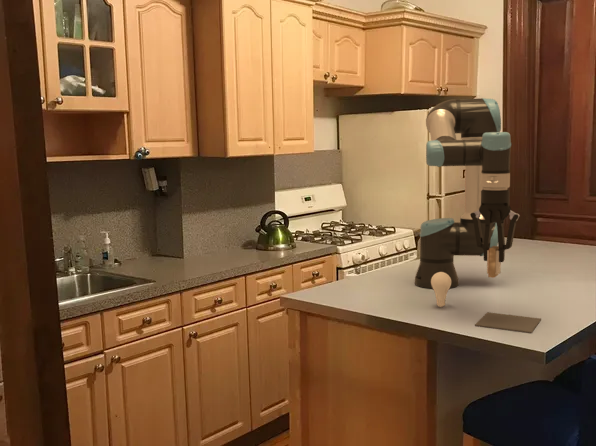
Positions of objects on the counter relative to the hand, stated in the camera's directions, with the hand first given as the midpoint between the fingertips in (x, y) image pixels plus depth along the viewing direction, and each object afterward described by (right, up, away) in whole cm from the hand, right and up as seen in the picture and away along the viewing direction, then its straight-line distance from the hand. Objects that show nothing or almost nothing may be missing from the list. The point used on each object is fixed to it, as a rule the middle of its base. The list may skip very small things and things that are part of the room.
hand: (493, 272), depth 178 cm
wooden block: (0, -1, 0) cm, 1 cm away
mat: (+4, -14, +1) cm, 15 cm away
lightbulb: (-11, -12, +19) cm, 25 cm away
